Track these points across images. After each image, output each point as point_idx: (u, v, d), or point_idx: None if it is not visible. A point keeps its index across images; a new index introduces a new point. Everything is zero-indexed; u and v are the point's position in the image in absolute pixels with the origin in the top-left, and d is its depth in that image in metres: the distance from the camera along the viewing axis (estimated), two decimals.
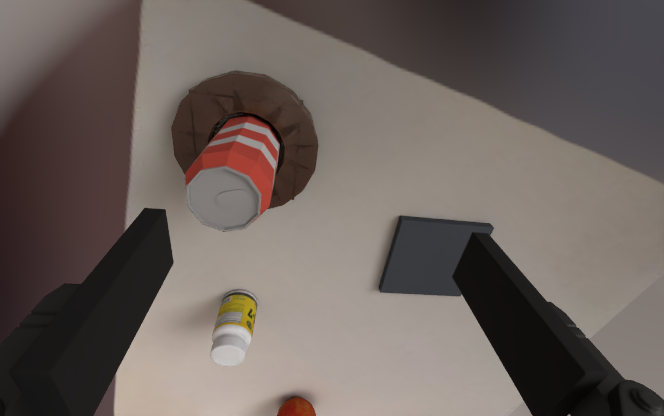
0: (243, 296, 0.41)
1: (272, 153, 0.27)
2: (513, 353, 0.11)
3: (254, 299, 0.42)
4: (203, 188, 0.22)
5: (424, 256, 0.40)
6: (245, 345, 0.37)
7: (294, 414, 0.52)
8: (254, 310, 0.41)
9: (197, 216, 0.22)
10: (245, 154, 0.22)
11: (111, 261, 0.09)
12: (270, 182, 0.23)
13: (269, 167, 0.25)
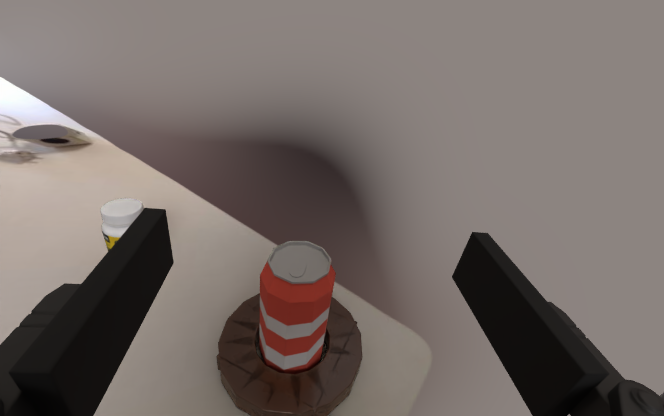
0: None
1: (293, 341, 0.26)
2: (513, 352, 0.11)
3: None
4: (315, 256, 0.27)
5: None
6: (112, 223, 0.34)
7: None
8: None
9: (296, 241, 0.27)
10: (322, 299, 0.25)
11: (111, 261, 0.09)
12: (290, 303, 0.24)
13: (295, 319, 0.25)
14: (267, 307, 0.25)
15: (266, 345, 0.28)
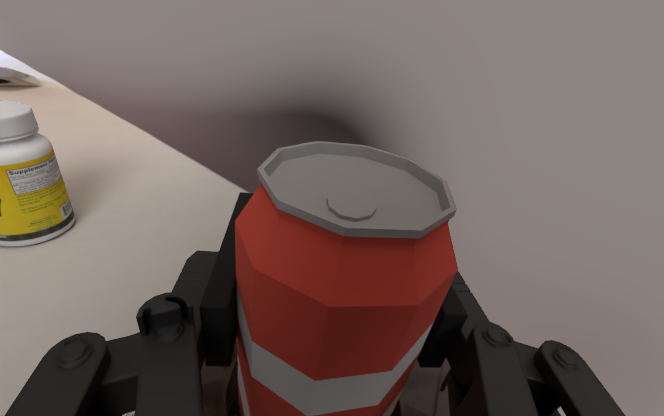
0: (39, 229, 0.20)
1: None
2: None
3: (5, 240, 0.20)
4: (392, 177, 0.09)
5: None
6: None
7: None
8: None
9: (337, 144, 0.10)
10: (433, 297, 0.08)
11: (234, 232, 0.11)
12: (334, 308, 0.06)
13: (341, 364, 0.08)
14: (253, 319, 0.08)
15: None
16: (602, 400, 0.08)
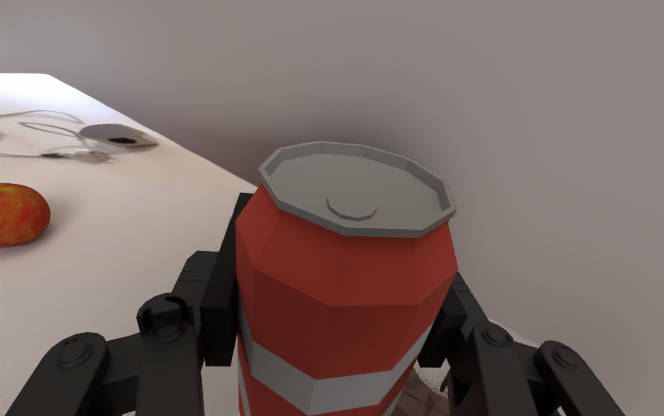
0: None
1: None
2: None
3: None
4: (393, 176, 0.10)
5: None
6: None
7: (30, 218, 0.34)
8: None
9: (337, 144, 0.10)
10: (433, 297, 0.08)
11: (234, 232, 0.11)
12: (335, 308, 0.06)
13: (342, 363, 0.08)
14: (254, 318, 0.08)
15: None
16: (602, 399, 0.08)
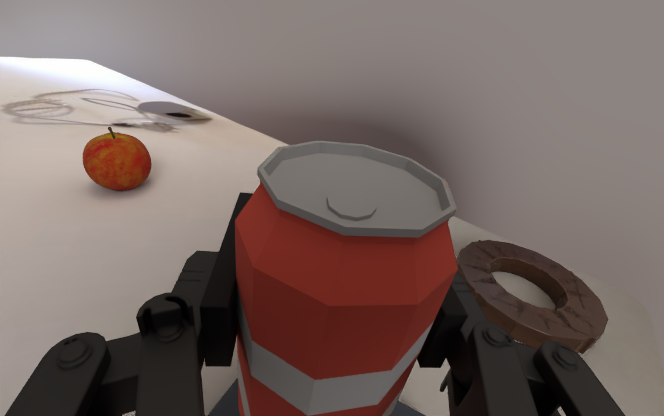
0: None
1: None
2: None
3: None
4: (393, 176, 0.09)
5: None
6: None
7: (141, 163, 0.38)
8: None
9: (337, 144, 0.10)
10: (433, 296, 0.08)
11: (234, 232, 0.11)
12: (335, 307, 0.06)
13: (341, 362, 0.08)
14: (253, 318, 0.08)
15: None
16: (602, 400, 0.08)
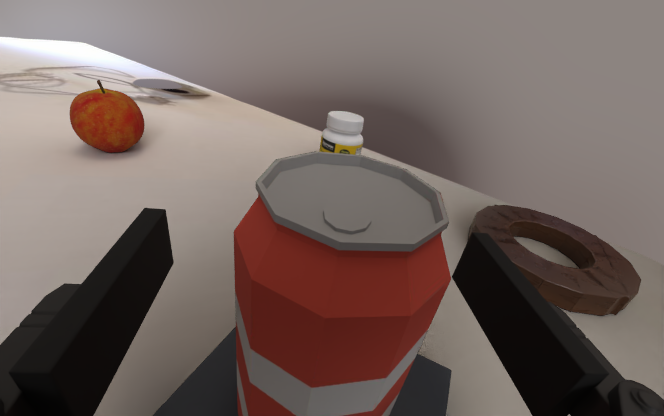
0: None
1: None
2: (513, 352, 0.11)
3: None
4: (388, 187, 0.10)
5: None
6: (344, 129, 0.33)
7: (133, 122, 0.35)
8: None
9: (334, 154, 0.11)
10: (427, 307, 0.08)
11: (111, 261, 0.09)
12: (330, 319, 0.07)
13: (337, 371, 0.08)
14: (251, 327, 0.08)
15: None
16: None
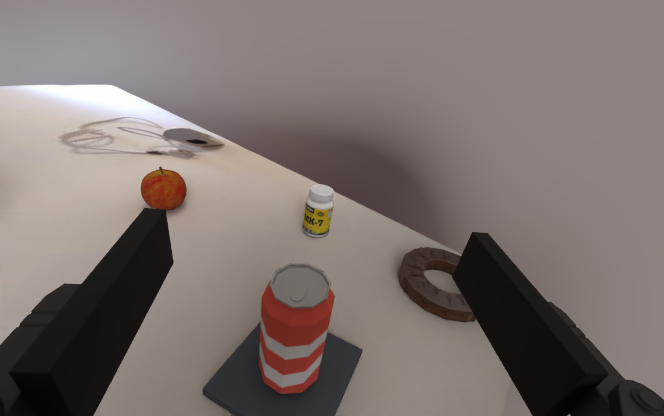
0: (326, 230, 0.55)
1: (292, 362, 0.27)
2: (514, 352, 0.11)
3: (316, 234, 0.54)
4: (315, 279, 0.28)
5: None
6: (320, 200, 0.51)
7: (181, 191, 0.53)
8: (315, 227, 0.53)
9: (297, 264, 0.28)
10: (321, 322, 0.26)
11: (111, 261, 0.09)
12: (290, 326, 0.25)
13: (294, 341, 0.26)
14: (268, 328, 0.26)
15: (265, 363, 0.29)
16: None
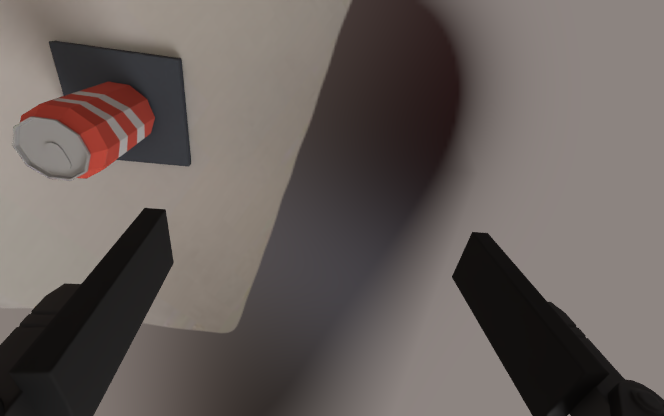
0: None
1: None
2: (514, 353, 0.11)
3: None
4: (58, 132, 0.24)
5: None
6: None
7: None
8: None
9: (21, 124, 0.23)
10: (108, 158, 0.27)
11: (111, 261, 0.09)
12: (87, 177, 0.27)
13: None
14: None
15: None
16: None
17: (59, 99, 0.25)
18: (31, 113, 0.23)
